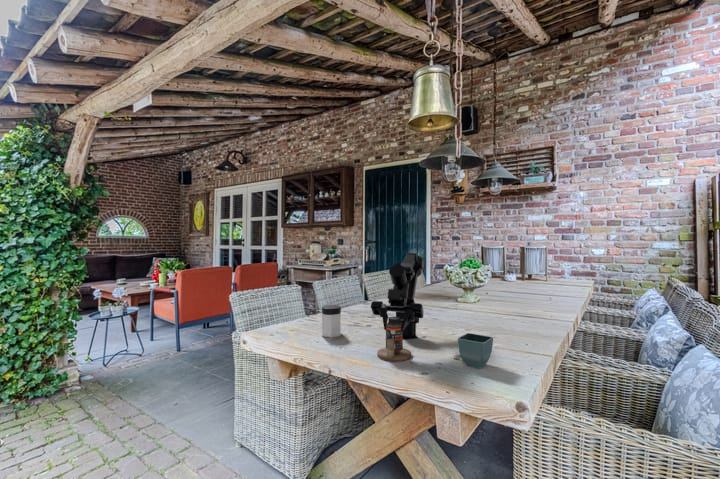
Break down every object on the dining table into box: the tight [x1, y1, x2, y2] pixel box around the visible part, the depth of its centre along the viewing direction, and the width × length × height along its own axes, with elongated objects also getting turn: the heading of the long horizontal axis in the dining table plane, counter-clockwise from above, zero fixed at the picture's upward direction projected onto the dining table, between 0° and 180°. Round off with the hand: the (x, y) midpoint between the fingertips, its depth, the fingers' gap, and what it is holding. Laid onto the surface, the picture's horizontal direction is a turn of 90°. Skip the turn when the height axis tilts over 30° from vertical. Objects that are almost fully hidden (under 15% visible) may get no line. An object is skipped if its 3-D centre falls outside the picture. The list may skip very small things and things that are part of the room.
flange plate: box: [376, 339, 412, 363], centre depth 121 cm, size 12×12×7 cm
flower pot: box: [457, 332, 494, 369], centre depth 112 cm, size 9×9×9 cm
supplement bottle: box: [385, 316, 404, 352], centre depth 122 cm, size 6×6×11 cm
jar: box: [321, 304, 342, 339], centre depth 148 cm, size 9×8×12 cm
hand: (393, 330), depth 120 cm, fingers closed on supplement bottle, 6 cm apart
